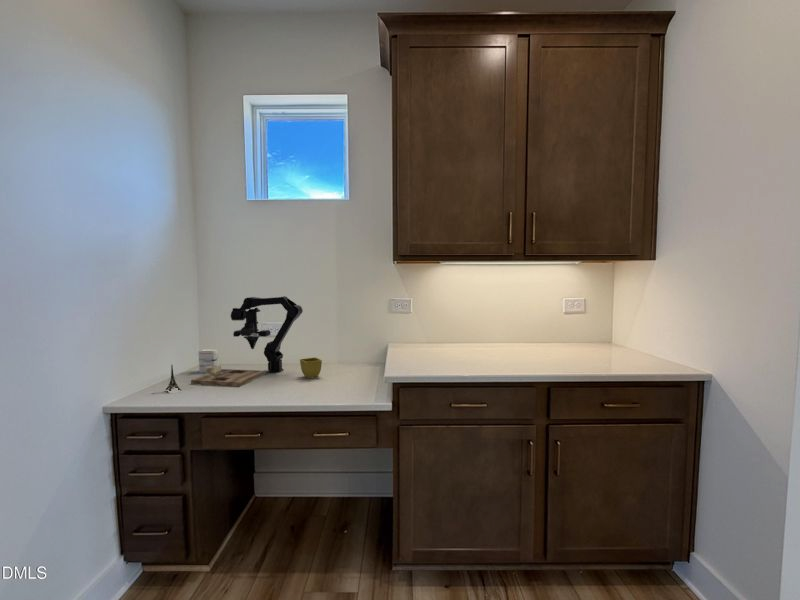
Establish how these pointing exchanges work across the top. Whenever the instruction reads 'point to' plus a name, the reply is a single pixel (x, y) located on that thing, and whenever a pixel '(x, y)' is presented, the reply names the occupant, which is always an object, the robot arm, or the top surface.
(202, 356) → the ink box
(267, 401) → the top surface
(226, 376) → the board
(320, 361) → the flower pot
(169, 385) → the eiffel tower figurine
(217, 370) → the maple block
